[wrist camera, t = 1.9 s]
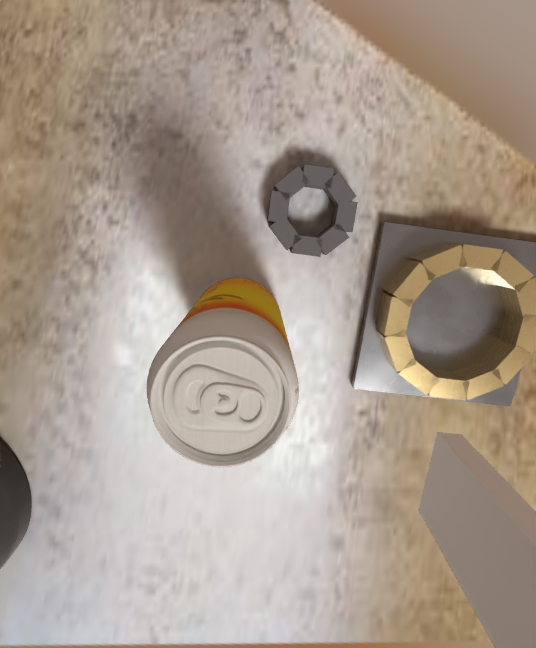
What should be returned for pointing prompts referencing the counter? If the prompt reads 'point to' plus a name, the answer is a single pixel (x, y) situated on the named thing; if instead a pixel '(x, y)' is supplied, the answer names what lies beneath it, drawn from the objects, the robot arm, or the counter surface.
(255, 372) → the beer can
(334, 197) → the ring
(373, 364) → the collar block
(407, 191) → the counter surface
